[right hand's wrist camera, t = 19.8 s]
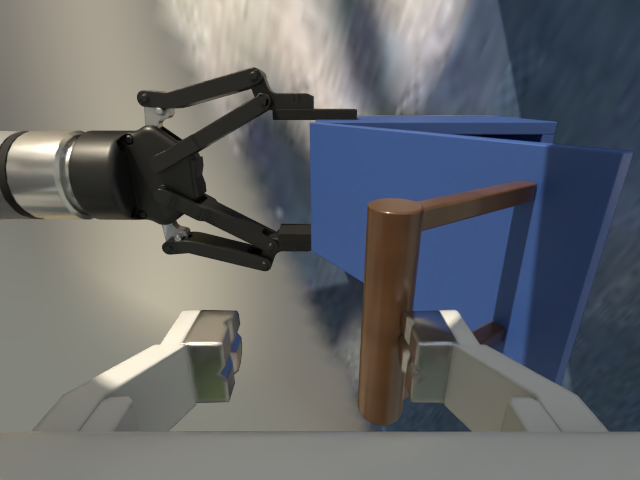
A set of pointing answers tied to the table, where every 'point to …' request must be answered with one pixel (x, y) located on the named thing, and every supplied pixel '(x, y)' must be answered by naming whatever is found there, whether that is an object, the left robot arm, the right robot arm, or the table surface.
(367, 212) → the lid
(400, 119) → the chest
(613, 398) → the table surface
